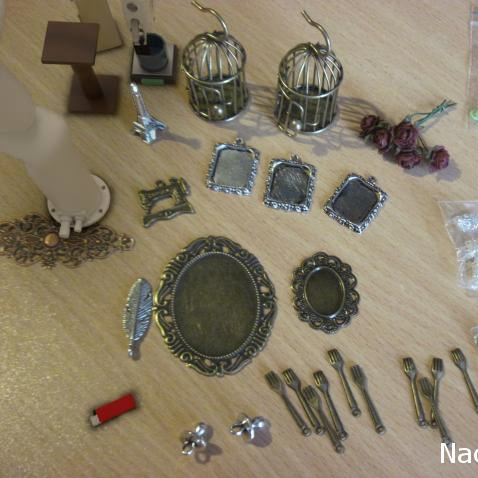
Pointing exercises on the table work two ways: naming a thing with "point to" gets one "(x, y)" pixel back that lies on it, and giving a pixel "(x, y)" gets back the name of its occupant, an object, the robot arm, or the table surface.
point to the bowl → (154, 52)
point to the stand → (80, 66)
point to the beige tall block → (99, 21)
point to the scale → (158, 75)
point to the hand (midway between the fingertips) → (145, 37)
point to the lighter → (113, 409)
